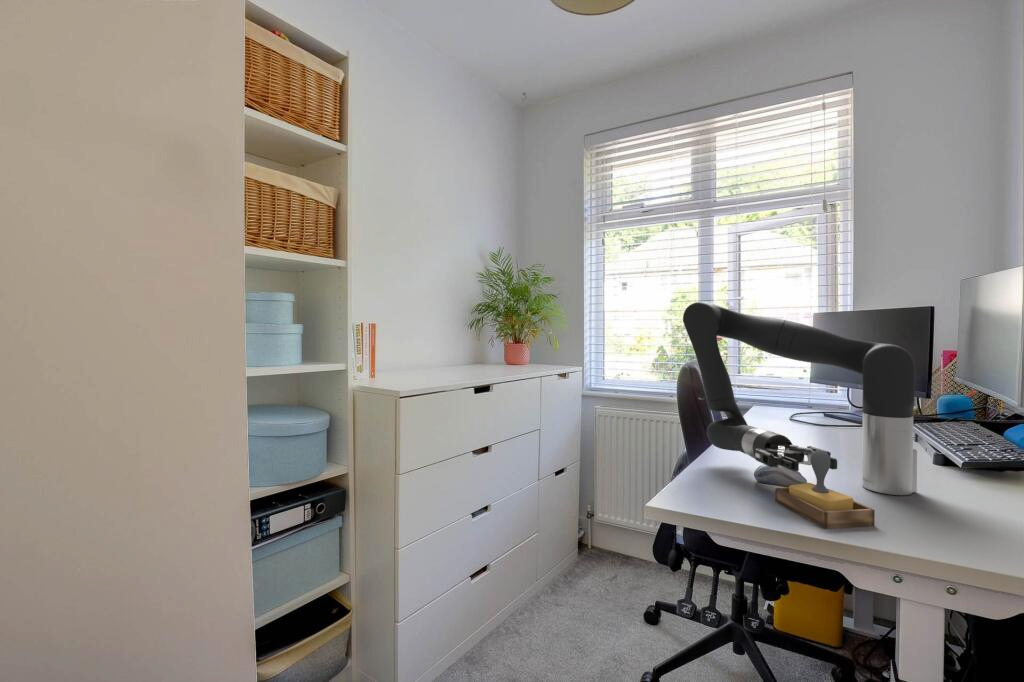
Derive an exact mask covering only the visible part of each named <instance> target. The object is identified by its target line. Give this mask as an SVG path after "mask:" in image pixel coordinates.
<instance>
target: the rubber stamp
mask: <svg viewBox="0 0 1024 682" xmlns="http://www.w3.org/2000/svg"><path fill="white" fill-rule="evenodd" d="M823 450H824V449H821V450H816V451H814V452H813V453H812V454H811V465H810V466H811V468H812V471H813V472H814V475H815V478H816V484H815V483H813V482H807V483H806V482H805V483H797V484H791V485H788V487H789V494H791V495H793V496H795V497H797V498H799V499H801V500H803V501H805V502H807V503H809V504H811V505H813V506H815V507H817V508H819V509H821V510H823V511H839V510H853V501H854V497H852V496H850V495H847V494H844V493H841V492H839V491H835V490H832V489H830V488H827V487H826V486H825V479H826V476H827V474H828V471H829V470H830V464H831V460H830V457H831V456H830V457H829V455H828V453H826V452H825V451H826V450H825V451H823Z"/></svg>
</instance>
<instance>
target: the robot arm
mask: <svg viewBox="0 0 1024 682" xmlns="http://www.w3.org/2000/svg"><path fill="white" fill-rule="evenodd" d="M682 322H683V325H684V328H685V330H686V333H687V335H688V337H689V341H690V343H691V345H692V349H693V351H694V353H695V357H696V360H697V364H698V367H699V371H700V376H701V380H702V385H703V390H704V394H705V399H706V402H707V407H708V408H709V410H710V411H711V412H718V413H720V412H723V413H724V414H725V416H726V417H727V418H724V419H720V420H715V421H712V422H711V423H709V424H708V426H707V428H706V436H707V439H708V441H709V442H710V444H712V446H714V447H715V448H718V449H721V450H725V451H733V452H741V453H743V454H745V455H747V456H749V457H751V458H752V459H754V460H755V461H756V462H759V463H760V464H762V465H765V466H767V467H770V468H785V469H787V470H790V471H792V472H799V471H800V469H799V468H800V467H799V465H804V466H812V465H811V454H812V453H813V452H814V451H816V450H823V451H825V452H826V453H828V455H829V457H830V460H831V464H830V468H829V470H837V469H838V459H837V458H835V457H831V451H827V450H824V449H821V448H817V447H814V446H811V445H809V446H806V447H801V446H799V445H795V444H793V443H792V442H791V440H790V439H789V437H787V436H785V435H783V434H779V433H776V432H774V431H770V430H767V429H763V428H758V427H755V426H751V425H749V424H748V422H747V420H746V419H745V417H744V416H743V414H742V412H741V410H740V408H739V406H738V404H737V402H736V399H735V393H734V390H733V387H732V386H733V385H732V382H731V381H732V380H731V377H730V374H729V372H728V369H727V367H726V365H725V363H724V361H723V358H722V355H721V352H720V349H719V344H718V337H722V338H727V339H732V340H736V341H739V342H741V343H744V344H746V345H748V346H751V347H753V348H755V349H758V350H760V351H762V352H765V353H768V354H771V355H775V356H778V357H782V358H786V359H789V360H794V361H798V362H802V363H803V362H805V363H811V364H819V365H820V364H821V365H826V366H834V367H838V368H841V369H844V370H848V371H851V372H853V373H857V374H861V375H862V437H861V438H862V443H861V444H862V445H861V446H862V450H861V451H862V455H861V457H862V458H861V459H862V461H861V468H862V469H861V471H862V472H861V475H862V477H861V480H862V482H861V484H862V487H864V489H867V490H869V491H873V492H876V493H880V494H884V495H885V494H886V495H892V496H893V495H894V496H909V495H912V494H913V493H917V491H918V450H917V449H915V448H914V408H915V400H916V399H915V398H916V397H915V395H916V392H915V390H916V364H915V360H914V357H913V356H912V354H911V353H910V352H909V351H908V350H906V349H905V348H903V347H902V346H900V345H897V344H893V343H892V344H891V343H883V342H882V343H880V342H874V341H873V342H872V341H867V340H866V341H865V340H859V339H855V338H848V337H845V336H841V335H838V334H835V333H832V332H830V331H827V330H823V329H821V328H817V327H814V326H811V325H808V324H803V323H800V322H796V321H791V320H787V319H782V318H776V317H771V316H763V315H754V314H753V315H752V314H746V313H742V312H738V311H735V310H732V309H729V308H727V307H723V306H720V305H718V304H716V303H712V302H709V301H697V302H696V301H695V302H693V303H691V304H689V305H688V306H687V307H686V309H684V312H683V315H682ZM805 456H806V458H807V461H806V460H805Z"/></svg>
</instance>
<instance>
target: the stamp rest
mask: <svg viewBox="0 0 1024 682" xmlns="http://www.w3.org/2000/svg"><path fill="white" fill-rule="evenodd" d="M774 502H775V503H776V502H777V504H778V505H780V506H782V507H784V508H786V509H788V510H789V511H791V512H793V513H795V514H797V515H799V516H800V517H802V518H804V519H806V520H808V521H810V522H812V523H813V524H815V525H817V526H819V527H820V528H822V529H824V530H825V529H840V528H857V527H858V528H859V527H872V526H874V527H875V526H876V525H875V523H876V522H875V520H876V519H875V517H876V516H875V511H876V510H875V509H873V508H872V507H869V506H867V505H864V504H862V503H860V502H858V501H856V500H853V510H839V511H823V510H821V509H819V508H817V507H815V506H813V505H811V504H809V503H807V502H805V501H803V500H801V499H799V498H797V497H795V496H793V495H791V494H789V486H786V487H775V488H774Z"/></svg>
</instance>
